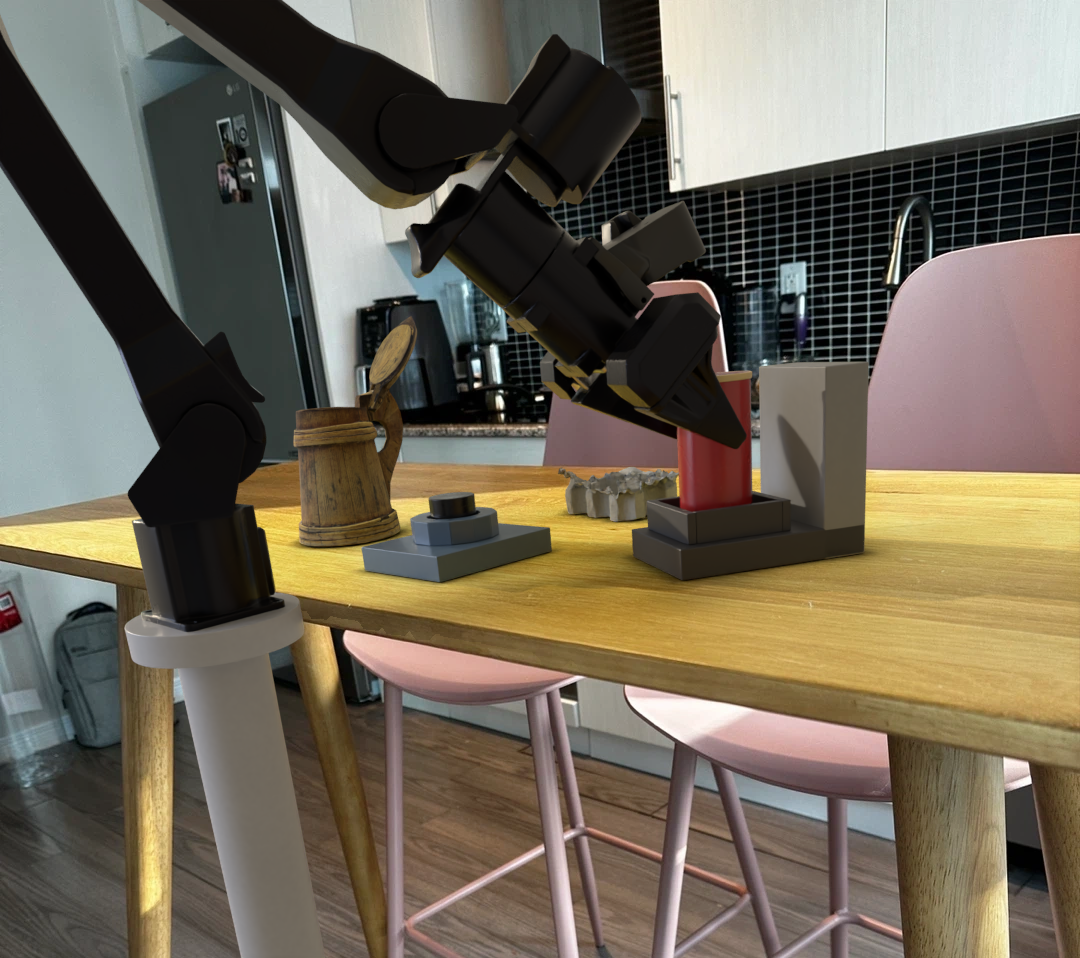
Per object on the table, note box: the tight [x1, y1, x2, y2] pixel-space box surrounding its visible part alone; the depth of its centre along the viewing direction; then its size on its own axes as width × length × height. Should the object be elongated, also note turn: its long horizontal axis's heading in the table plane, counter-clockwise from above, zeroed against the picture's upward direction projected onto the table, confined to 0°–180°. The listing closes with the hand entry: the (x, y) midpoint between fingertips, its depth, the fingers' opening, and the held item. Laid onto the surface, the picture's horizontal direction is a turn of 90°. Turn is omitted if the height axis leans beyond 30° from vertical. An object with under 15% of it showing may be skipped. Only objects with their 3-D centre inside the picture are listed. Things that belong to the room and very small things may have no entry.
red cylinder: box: [676, 370, 753, 512], centre depth 68 cm, size 5×5×10 cm
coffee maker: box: [631, 361, 870, 581], centre depth 68 cm, size 13×9×12 cm
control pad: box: [361, 506, 553, 583], centre depth 77 cm, size 11×9×4 cm
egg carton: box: [557, 466, 679, 522], centre depth 91 cm, size 11×8×4 cm
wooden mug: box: [293, 315, 418, 548], centre depth 90 cm, size 9×14×18 cm, turn 124°
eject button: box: [428, 491, 477, 520], centre depth 76 cm, size 3×3×2 cm
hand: (710, 438), depth 67 cm, fingers open, 9 cm apart
